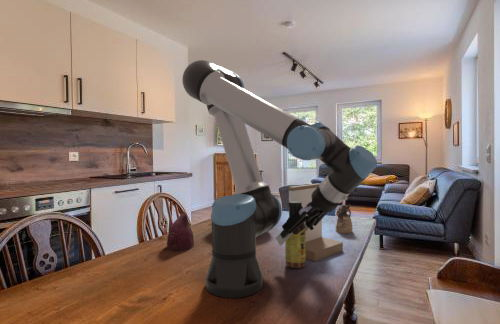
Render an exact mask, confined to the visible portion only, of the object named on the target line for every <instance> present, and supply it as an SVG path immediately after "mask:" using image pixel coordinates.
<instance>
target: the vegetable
mask: <svg viewBox="0 0 500 324" xmlns="http://www.w3.org/2000/svg"><path fill="white" fill-rule="evenodd" d="M188 218H189V217H188V214H187V213H186V211H184V212H183V213H181V214H180V216H178V217H177V219H175V221H174V222H173V223H172V224H171V226H170V229H169V232H168V234H167V241H166V249H168V250H169V251H172V252H179V251H186V250H187V251H188V250H191V249H193V247H195V242H194V241H195V239H194V234H193V233H194V232H193V230H192V228H191V225H190V224H189V220H188Z"/></svg>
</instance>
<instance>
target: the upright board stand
mask: <svg viewBox="0 0 500 324" xmlns="http://www.w3.org/2000/svg"><path fill="white" fill-rule="evenodd" d="M319 185H320V183H318V182H317V183H311V184H303V185H295V186H293V185H291V186H288V187H287V189H288V203H289V202H290V201H299V202H302V207H303V208H305V207H306V206H307V204H308V203H310V202H312V197H311V195H312V193H313V191H314V190H315V189H316V188H317V187H318V186H319ZM307 216H308V215H307ZM305 223H306V222H305ZM313 228H314V229H313V230H310V228H309V230H308V231H307V232H306V233H305V235H306V260H309V261H312V262H317V261H320V260H323V259H325V258H328V257H331V256H333V255H336V254H337V253H341V252H343V251H344V250H343V249H344V242H343V241H339V240H335V239H331V238H327V237H323V219H322V220H321V221H320V222H319V223H318V224H317V225H316V226H314V225H313Z"/></svg>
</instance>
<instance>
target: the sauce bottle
mask: <svg viewBox="0 0 500 324" xmlns="http://www.w3.org/2000/svg"><path fill="white" fill-rule="evenodd" d="M301 206H302V202H299V201H290V202H289V201H288V219H289V218H290V217H291V216H292V215H293V214H294V213H295V212H296V211H297V210H298V208H299V207H301ZM288 219H287V220H288ZM292 233H293V234H292V235H291V236H290V237H289V238H288V239H287V240H286V241H285V242H284V245H285V246H284V247H285V249H284V251H285V253H284V254H285V256H284V257H285V266H287V267H288V268H291V269H302V268H304V267H305V265H306V260H307V259H306V235H305V225H304V223H303V224H302V225H300V226H299V227H298V228H297V229H296V230H294V231H293V232H292Z"/></svg>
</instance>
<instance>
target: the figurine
mask: <svg viewBox="0 0 500 324" xmlns="http://www.w3.org/2000/svg"><path fill="white" fill-rule="evenodd" d="M337 208H338V210H337V211H336V213H337V221H336V225H335V232H336V233H339V234H351V233H353V223H352V219H351V216H352V211H351V209H350V208H351V205H350V204H348V205H345V203H344V204H341V205H340V206H338V207H337ZM348 213H349V214H348Z"/></svg>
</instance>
